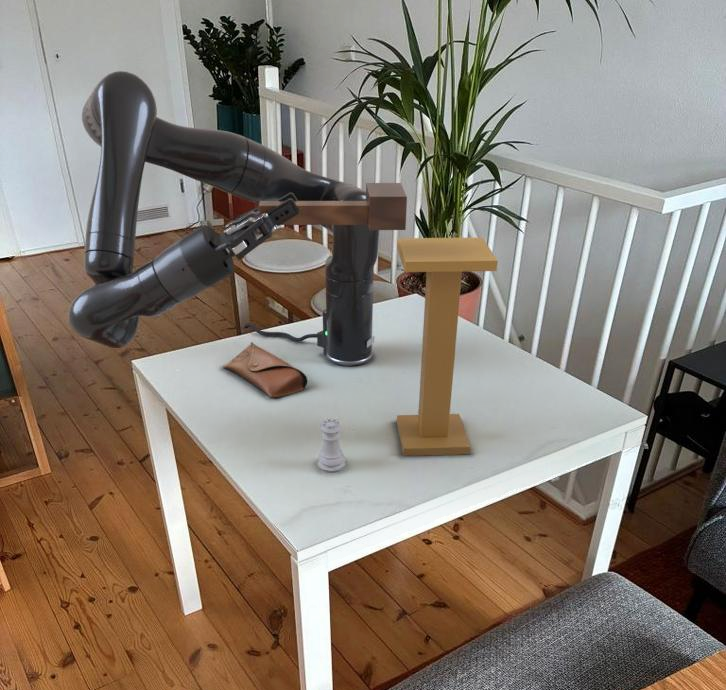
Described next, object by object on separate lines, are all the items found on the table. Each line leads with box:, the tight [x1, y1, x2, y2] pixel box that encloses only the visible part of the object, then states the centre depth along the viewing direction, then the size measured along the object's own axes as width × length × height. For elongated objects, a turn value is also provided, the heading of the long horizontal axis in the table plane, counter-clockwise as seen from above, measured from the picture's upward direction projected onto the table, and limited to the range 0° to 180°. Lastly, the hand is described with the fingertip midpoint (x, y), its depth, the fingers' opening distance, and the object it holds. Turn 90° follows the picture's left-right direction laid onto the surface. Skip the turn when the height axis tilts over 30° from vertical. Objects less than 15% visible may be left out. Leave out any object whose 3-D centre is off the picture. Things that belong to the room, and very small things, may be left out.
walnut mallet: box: [258, 182, 408, 231], centre depth 102 cm, size 20×8×4 cm, turn 93°
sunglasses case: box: [222, 341, 308, 398], centre depth 142 cm, size 18×7×7 cm, turn 41°
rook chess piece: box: [317, 417, 346, 473], centre depth 115 cm, size 4×4×8 cm
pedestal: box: [396, 237, 499, 457], centre depth 116 cm, size 13×11×32 cm
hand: (295, 202), depth 101 cm, fingers closed on walnut mallet, 2 cm apart
